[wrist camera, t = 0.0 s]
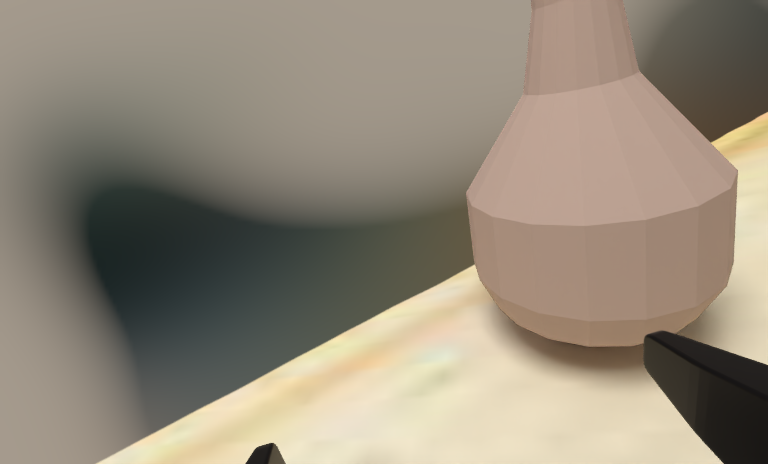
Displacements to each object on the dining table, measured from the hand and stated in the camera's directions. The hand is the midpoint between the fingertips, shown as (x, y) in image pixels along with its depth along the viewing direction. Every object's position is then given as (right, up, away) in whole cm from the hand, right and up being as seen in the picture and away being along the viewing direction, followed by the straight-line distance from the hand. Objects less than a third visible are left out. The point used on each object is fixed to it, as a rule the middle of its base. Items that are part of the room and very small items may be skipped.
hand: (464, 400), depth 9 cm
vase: (+16, -4, +25) cm, 30 cm away
